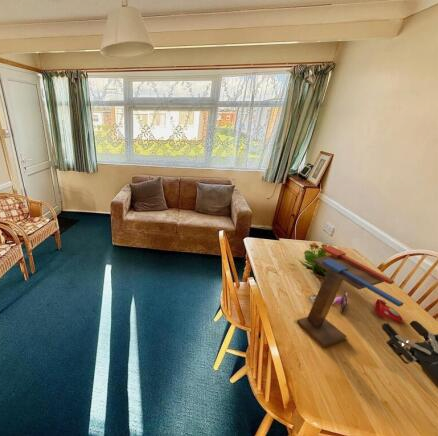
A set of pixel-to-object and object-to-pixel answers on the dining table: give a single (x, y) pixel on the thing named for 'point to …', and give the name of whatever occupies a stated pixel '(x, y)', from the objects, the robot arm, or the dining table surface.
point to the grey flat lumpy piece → (313, 298)
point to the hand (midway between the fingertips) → (398, 323)
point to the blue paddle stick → (359, 280)
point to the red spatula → (355, 263)
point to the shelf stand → (331, 301)
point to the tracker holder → (386, 311)
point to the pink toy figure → (341, 301)
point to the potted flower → (310, 256)
